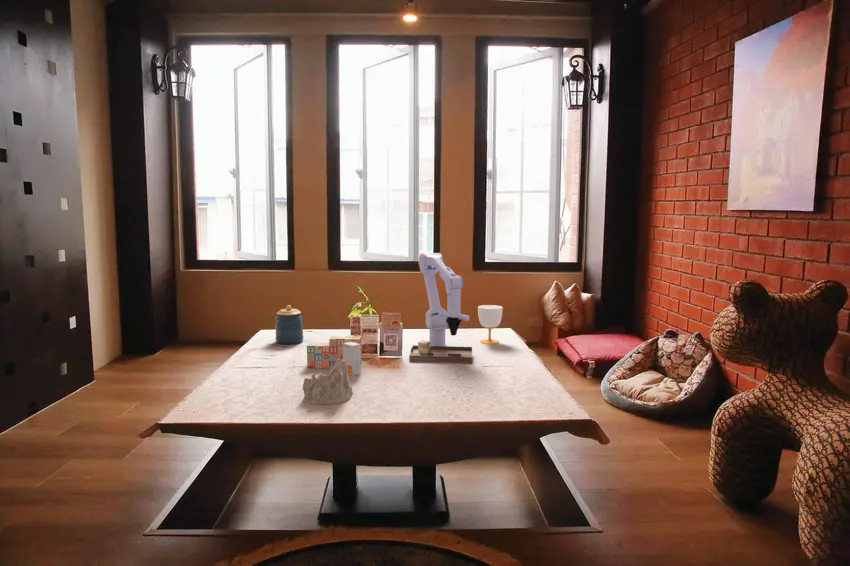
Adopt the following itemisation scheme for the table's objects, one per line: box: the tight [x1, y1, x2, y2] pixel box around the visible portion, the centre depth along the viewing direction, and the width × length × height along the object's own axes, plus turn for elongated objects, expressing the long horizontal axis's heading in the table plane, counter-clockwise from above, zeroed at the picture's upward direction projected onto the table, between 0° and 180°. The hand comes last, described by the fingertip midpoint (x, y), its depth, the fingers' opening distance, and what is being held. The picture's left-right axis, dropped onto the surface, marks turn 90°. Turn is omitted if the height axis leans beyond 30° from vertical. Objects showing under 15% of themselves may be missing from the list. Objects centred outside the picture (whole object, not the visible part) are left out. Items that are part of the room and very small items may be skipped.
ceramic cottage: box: [302, 359, 353, 406], centre depth 207 cm, size 16×16×15 cm
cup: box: [477, 304, 504, 345], centre depth 290 cm, size 12×12×17 cm
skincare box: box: [343, 342, 362, 377], centre depth 236 cm, size 6×4×12 cm
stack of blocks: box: [306, 334, 362, 369], centre depth 246 cm, size 21×6×12 cm, turn 89°
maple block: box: [417, 340, 431, 352], centre depth 262 cm, size 4×4×4 cm
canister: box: [274, 304, 304, 345], centre depth 289 cm, size 13×13×18 cm
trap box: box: [408, 344, 473, 364], centre depth 259 cm, size 12×26×4 cm, turn 85°
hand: (453, 335), depth 262 cm, fingers closed
